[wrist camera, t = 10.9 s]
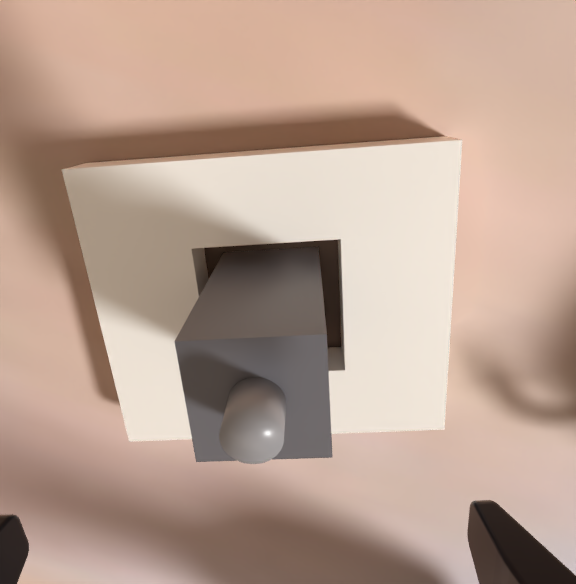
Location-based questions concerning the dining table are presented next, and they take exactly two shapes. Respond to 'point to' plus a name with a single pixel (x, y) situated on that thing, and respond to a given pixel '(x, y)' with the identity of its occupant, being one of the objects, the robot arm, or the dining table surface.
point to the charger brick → (258, 359)
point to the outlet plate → (279, 229)
